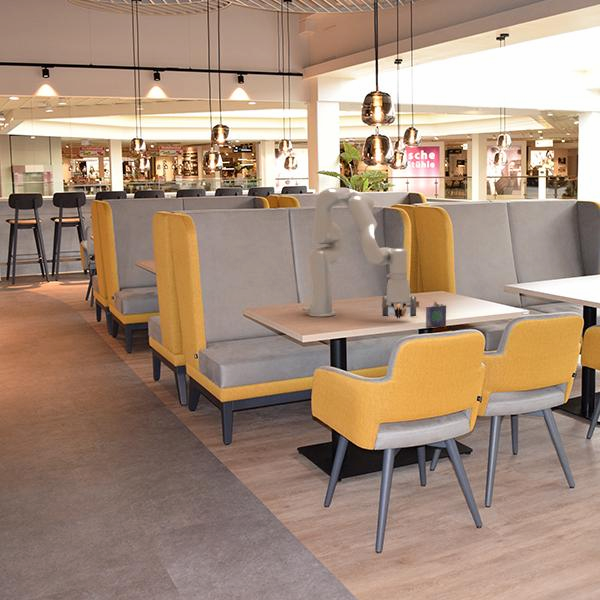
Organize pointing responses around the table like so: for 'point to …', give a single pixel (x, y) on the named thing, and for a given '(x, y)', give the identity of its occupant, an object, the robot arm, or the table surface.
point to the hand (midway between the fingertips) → (398, 317)
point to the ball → (402, 309)
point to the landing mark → (391, 310)
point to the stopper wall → (408, 305)
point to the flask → (436, 315)
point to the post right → (413, 306)
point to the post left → (384, 306)
